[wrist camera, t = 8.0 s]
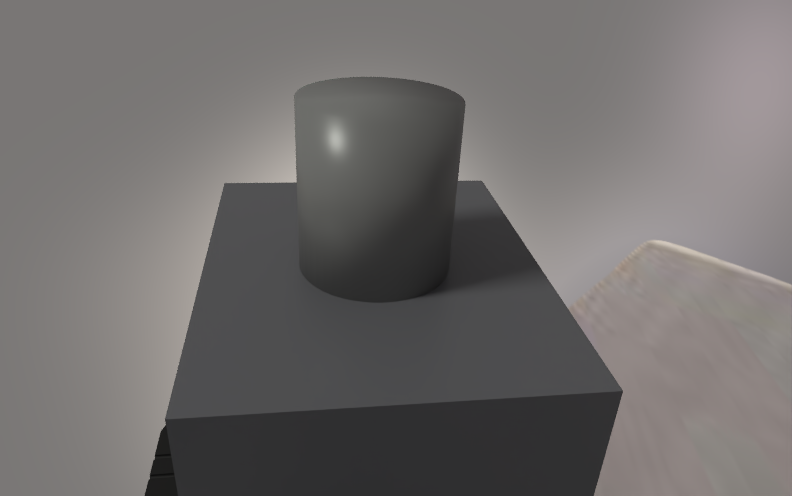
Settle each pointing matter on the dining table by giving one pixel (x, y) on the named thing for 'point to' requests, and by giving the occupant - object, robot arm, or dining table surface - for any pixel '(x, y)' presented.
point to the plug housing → (381, 325)
